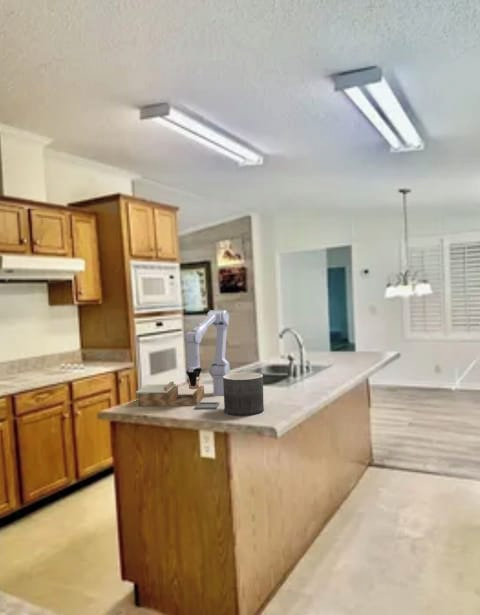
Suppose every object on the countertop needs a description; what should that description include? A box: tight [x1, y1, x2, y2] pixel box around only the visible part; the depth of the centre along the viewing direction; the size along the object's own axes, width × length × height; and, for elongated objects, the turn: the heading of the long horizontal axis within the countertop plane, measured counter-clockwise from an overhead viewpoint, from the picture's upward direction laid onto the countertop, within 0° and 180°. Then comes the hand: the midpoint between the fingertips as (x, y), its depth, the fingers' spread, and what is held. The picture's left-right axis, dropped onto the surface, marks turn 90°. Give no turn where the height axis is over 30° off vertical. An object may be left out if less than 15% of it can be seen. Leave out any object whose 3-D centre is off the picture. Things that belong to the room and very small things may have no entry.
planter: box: [223, 372, 265, 417], centre depth 219 cm, size 18×18×16 cm
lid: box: [135, 381, 177, 394], centre depth 243 cm, size 15×19×2 cm
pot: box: [187, 376, 200, 390], centre depth 235 cm, size 5×5×5 cm
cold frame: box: [137, 385, 205, 407], centre depth 242 cm, size 29×19×6 cm, turn 84°
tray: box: [194, 401, 220, 410], centre depth 228 cm, size 10×10×1 cm
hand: (194, 384), depth 235 cm, fingers closed on pot, 5 cm apart
